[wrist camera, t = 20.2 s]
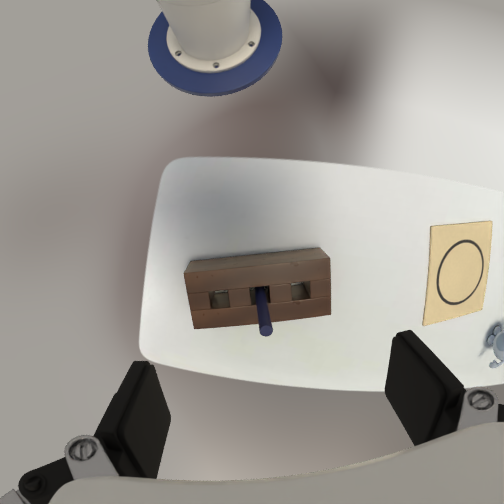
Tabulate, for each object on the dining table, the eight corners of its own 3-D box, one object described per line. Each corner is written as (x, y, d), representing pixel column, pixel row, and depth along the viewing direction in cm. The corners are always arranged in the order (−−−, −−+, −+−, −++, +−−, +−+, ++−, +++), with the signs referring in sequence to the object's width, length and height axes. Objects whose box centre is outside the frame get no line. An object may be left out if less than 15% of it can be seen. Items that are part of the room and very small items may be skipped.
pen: (253, 278, 39) (259, 326, 27) (262, 277, 39) (272, 324, 27) (254, 286, 40) (260, 337, 27) (263, 285, 40) (273, 336, 27)
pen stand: (190, 260, 39) (183, 273, 34) (319, 247, 39) (330, 257, 34) (199, 311, 40) (194, 329, 36) (321, 299, 40) (331, 314, 36)
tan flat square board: (430, 226, 38) (432, 226, 38) (491, 220, 38) (492, 221, 38) (422, 325, 42) (423, 326, 42) (480, 309, 42) (482, 310, 42)
